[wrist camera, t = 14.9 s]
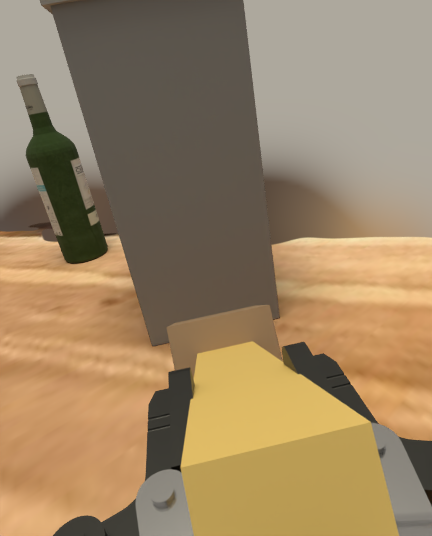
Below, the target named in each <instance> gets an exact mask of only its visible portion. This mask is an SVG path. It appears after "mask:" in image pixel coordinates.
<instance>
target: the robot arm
mask: <svg viewBox="0 0 432 536" xmlns="http://www.w3.org/2000/svg"><path fill="white" fill-rule="evenodd" d="M282 354H283V363H284V365H286V366H287V367H288V368H290V369H291V370H293V371H294V372H295V373H297V374H301V375H303V376H304V377H306V378H307V379H309V380H310V381H312V382H313V383H314V384H316V385H317V386H319V387H320V388H322V389H323V390H325V391H326V392H328V393H329V394H330V395H332V396H333V397H335V398H336V399H338V400H339V401H341V402H342V403H344V404H345V405H347V406H348V407H349V408H351V409H352V410H354V411H355V412H357V413H358V414H360V415H361V416H363V417H364V418H366V419H367V420H368V421H370V422H371V425H372V429H373V433H374V437H375V441H376V445H377V449H378V453H379V457H380V461H381V465H382V469H383V473H384V477H385V481H386V485H387V489H388V493H389V497H390V501H391V505H392V509H393V513H394V517H395V521H396V525H397V529H398V533H399V536H432V441H422V440H410V439H405V438H401V437H398V436H397V435H396V434H395V433H394V432H393V431H392V430H390V429H389V428H387V427H385V426H383V425H380V424H378V422H377V421H376V420H375V418H374V417H373V415H372V414H371V412H370V411H369V410H368V408H367V407H366V405H365V404H364V402H363V401H362V399H361V398H360V396H359V395H358V393H357V392H356V390H355V389H354V387H353V386H352V385H351V384H350V382H349V380H348V379H347V377H346V376H345V375H344V373H343V371H342V370H341V368H340V367H339V365H338V364H337V362H336V361H334V360H333V359H331V358H330V357H328V356H327V355H325V354H324V353H323V354H319V355H315V356H313V355H312V353H311V352H310V350H309V348H308V347H307V345H306V344H305V342H301V343H297V344H292V345H288V346H283V347H282ZM194 387H195V383H194V379H193V375H192V371H191V368H190V367H189V368H184V369H180V370H175V371H171V372H169V388H168V389H164V390H159V391H155V393H154V395H153V397H152V399H151V401H150V403H149V410H148V420H149V421H148V434H147V459H146V478H145V482H144V483H143V484H142V486H141V487H140V489H139V491H138V493H137V497H136V499H135V500H134V501H133V502H132V503H131V504H130V505H129V506H128V507H126V508H125V509H123V510H122V511H120V512H118V513H117V514H115V515H113V516H112V517H110V518H108V519H107V520H105V521H103V522H100V521H99V520H98V519H97V518H95V517H92V516H80V517H77V518H74V519H72V520H70V521H69V522H67V523H66V524H64V525H63V526H62V527H61V528H60V529H59V530H57V532H56V533H55V534H54V535H53V536H194V534H193V529H192V523H191V518H190V513H189V508H188V503H187V498H186V493H185V488H184V483H183V478H182V473H181V461H182V454H183V448H184V441H185V434H186V427H187V420H188V414H189V407H190V400H191V399H193V395H194Z"/></svg>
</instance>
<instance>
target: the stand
mask: <svg viewBox="0 0 432 536" xmlns="http://www.w3.org/2000/svg"><path fill="white" fill-rule="evenodd" d="M40 3H41V5H42V6H43V7H44V8H45V9H47V10H48V11H49V12H51V13H52V14H53V17H54V20H55V23H56V27H57V30H58V33H59V37H60V40H61V43H62V47H63V50H64V53H65V57H66V60H67V63H68V67H69V70H70V73H71V77H72V80H73V83H74V87H75V90H76V93H77V97H78V100H79V103H80V107H81V110H82V113H83V116H84V120H85V123H86V127H87V130H88V133H89V136H90V140H91V143H92V147H93V150H94V153H95V157H96V160H97V163H98V167H99V170H100V173H101V176H102V180H103V183H104V187H105V190H106V193H107V197H108V200H109V203H110V207H111V210H112V213H113V217H114V220H115V223H116V227H117V230H118V233H119V237H120V240H121V243H122V247H123V250H124V253H125V257H126V260H127V263H128V267H129V270H130V273H131V277H132V280H133V283H134V287H135V290H136V293H137V297H138V300H139V303H140V307H141V310H142V314H143V317H144V320H145V324H146V327H147V330H148V334H149V337H150V340H151V344H152V346H156V345H160V344H165V343H169V338H168V333H167V328H166V327H168V326H170V325H172V324H174V323H177V322H182V321H187V320H191V319H196V318H200V317H205V316H209V315H214V314H219V313H223V312H228V311H232V310H237V309H242V308H246V307H251V306H255V305H270V309H271V313H272V317H273V319H277V318H280V316H279V308H278V299H277V290H276V282H275V273H274V264H273V255H272V247H271V238H270V230H269V221H268V212H267V204H266V195H265V186H264V177H263V168H262V160H261V151H260V142H259V134H258V125H257V117H256V108H255V99H254V91H253V82H252V72H251V64H250V55H249V48H248V47H249V46H248V38H247V29H246V20H245V12H244V3H243V0H40Z"/></svg>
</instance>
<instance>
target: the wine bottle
mask: <svg viewBox="0 0 432 536" xmlns="http://www.w3.org/2000/svg"><path fill="white" fill-rule="evenodd" d="M17 83H18V86H19V87H20V90H21V93H22V96H23V99H24V102H25V105H26V109H27V112H28V115H29V118H30V121H31V124H32V127H33V137H32V139H31V141H30V143H29V145H28V147H27V150H26V158H27V161H28V163H29V166H30V169H31V171H32V174H33V177H34V179H35V182H36V185H37V187H38V190H39V193H40V195H41V198H42V200H43V203H44V206H45V208H46V211H47V214H48V216H49V219H50V222H51V224H52V227H53V230H54V232H55V235H56V237H57V240H58V243H59V245H60V248H61V251H62V253H63V256H64V259H65V260H66V261H67V262H69V263H82V262H87V261H90V260H93V259H96V258H98V257H100V256H102V255H103V254H104V253H105V252H106V251H107V243H106V240H105V237H104V234H103V231H102V228H101V225H100V221H99V218H98V215H97V212H96V209H95V206H94V203H93V199H92V196H91V193H90V190H89V187H88V184H87V181H86V177H85V174H84V171H83V168H82V165H81V162H80V159H79V155H78V152H77V149H76V147H75V145H74V143H73V142H72V141H71V140H70V139H68V138H67V137H65V136H64V135H62V134H61V133H59V132H57V131H56V130H55V128H54V127H53V125H52V123H51V120H50V117H49V115H48V112H47V109H46V107H45V104H44V102H43V99H42V96H41V93H40V91H39V88H38V85H37V84H38V83H37V80H36V78H35V77H34V75H33V74H30V75H22V76H18V77H17Z"/></svg>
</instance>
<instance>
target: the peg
mask: <svg viewBox="0 0 432 536" xmlns="http://www.w3.org/2000/svg"><path fill="white" fill-rule="evenodd" d="M166 328H167V333H168V338H169V343H170V348H171V353H172V358H173V363H174V368H175V370H180V369H184V368H189V367H190V368H191V371H192V375H193V379H194V383H195V387H194V395H193V399H191V400H190V407H189V414H188V420H187V427H186V434H185V441H184V448H183V454H182V461H181V473H182V478H183V483H184V488H185V493H186V498H187V503H188V508H189V513H190V518H191V523H192V529H193V534H194V536H399V533H398V529H397V525H396V521H395V517H394V513H393V509H392V505H391V501H390V497H389V493H388V489H387V485H386V481H385V477H384V473H383V469H382V465H381V461H380V457H379V453H378V449H377V445H376V441H375V437H374V433H373V429H372V425H371V422H370V421H368V420H367V419H366V418H364V417H363V416H361V415H360V414H358V413H357V412H355V411H354V410H352V409H351V408H349V407H348V406H347V405H345V404H344V403H342V402H341V401H339V400H338V399H336V398H335V397H333V396H332V395H330V394H329V393H328V392H326V391H325V390H323V389H322V388H320V387H319V386H317V385H316V384H314V383H313V382H312V381H310V380H309V379H307V378H306V377H304V376H303V375H301V374H297V373H295V372H294V371H293V370H291V369H290V368H288V367H287V366H286V365H284V363H283V361H282V357H281V352H280V348H279V344H278V339H277V335H276V331H275V326H274V322H273V317H272V313H271V309H270V305H255V306H251V307H246V308H242V309H237V310H232V311H228V312H223V313H219V314H214V315H209V316H205V317H200V318H196V319H191V320H187V321H182V322H177V323H174V324H172V325H170V326H168V327H166Z"/></svg>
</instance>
